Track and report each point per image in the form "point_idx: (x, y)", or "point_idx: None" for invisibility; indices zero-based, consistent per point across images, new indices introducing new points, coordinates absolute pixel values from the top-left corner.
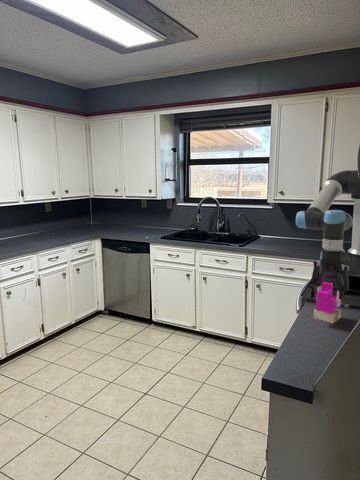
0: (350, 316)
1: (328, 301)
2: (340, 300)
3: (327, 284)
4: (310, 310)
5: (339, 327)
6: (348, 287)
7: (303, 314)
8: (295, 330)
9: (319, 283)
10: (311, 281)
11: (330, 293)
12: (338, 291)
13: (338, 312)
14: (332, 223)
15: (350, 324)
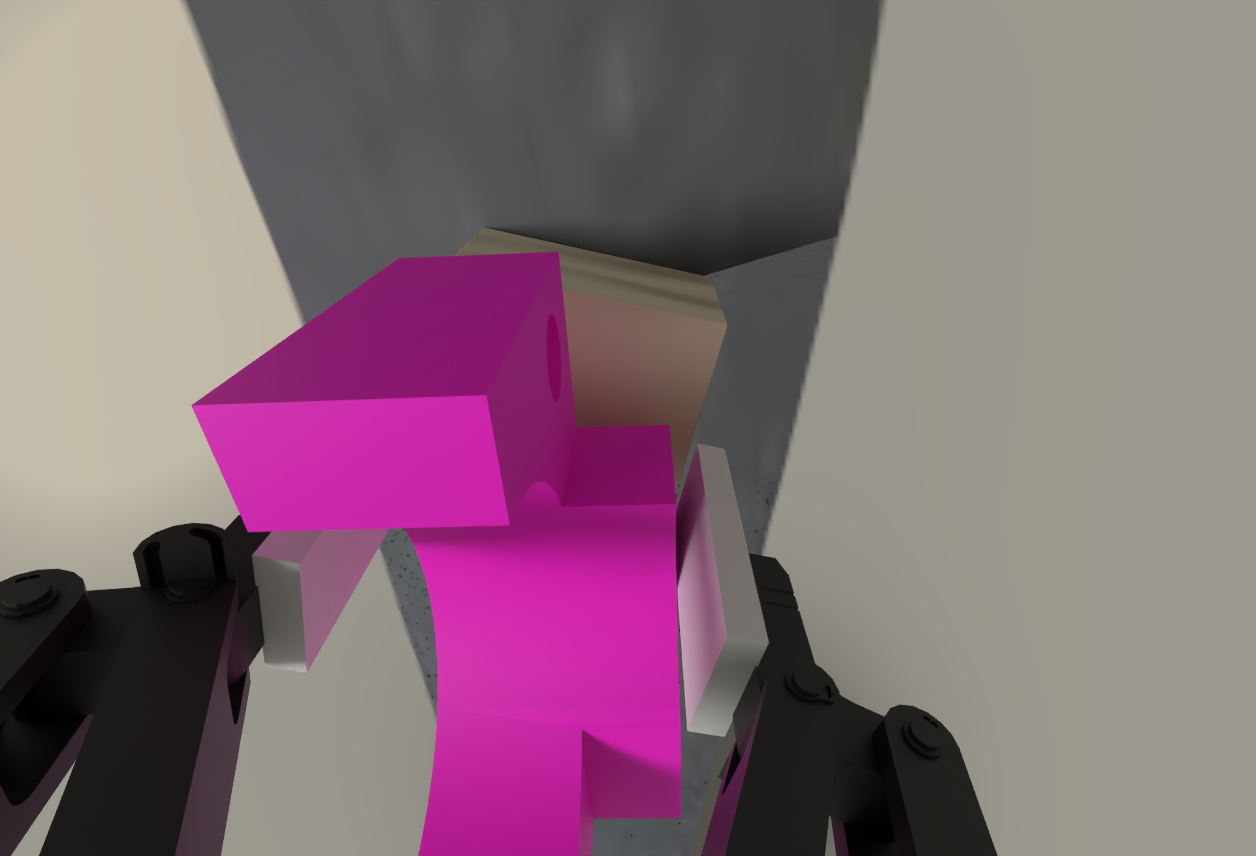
0: (820, 19)
1: (611, 816)
2: (731, 509)
3: (385, 525)
4: (298, 98)
5: (715, 445)
6: (945, 794)
7: (305, 299)
8: (427, 647)
9: (210, 626)
10: (21, 727)
11: (540, 488)
12: (714, 729)
13: (697, 409)
14: None
15: (814, 317)
